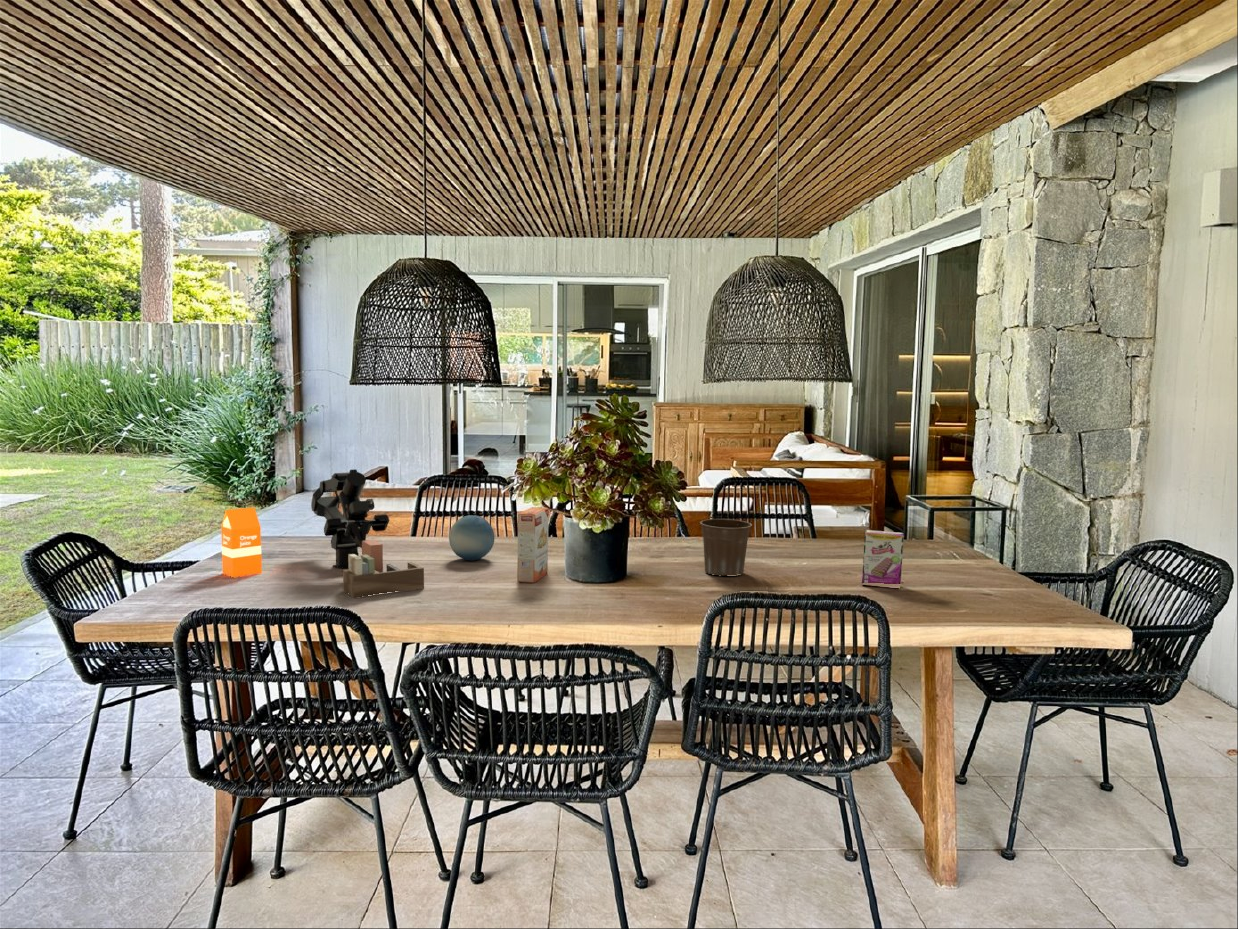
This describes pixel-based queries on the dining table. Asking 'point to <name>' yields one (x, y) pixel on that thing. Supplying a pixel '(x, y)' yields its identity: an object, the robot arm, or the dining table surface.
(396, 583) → the book rack
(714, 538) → the plant pot
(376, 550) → the book
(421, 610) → the dining table surface
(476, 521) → the decorative ball
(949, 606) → the dining table surface
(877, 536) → the candy bar box
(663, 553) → the dining table surface
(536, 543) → the cracker box
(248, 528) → the orange juice
